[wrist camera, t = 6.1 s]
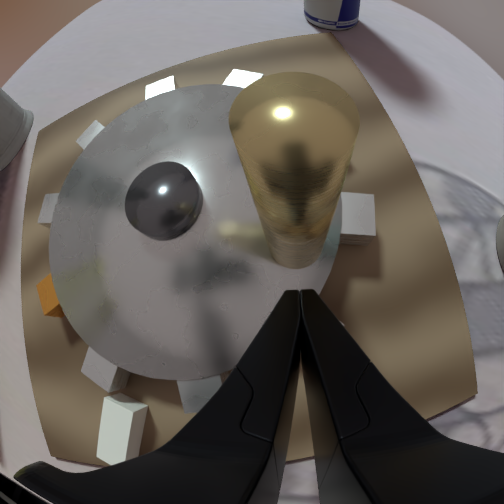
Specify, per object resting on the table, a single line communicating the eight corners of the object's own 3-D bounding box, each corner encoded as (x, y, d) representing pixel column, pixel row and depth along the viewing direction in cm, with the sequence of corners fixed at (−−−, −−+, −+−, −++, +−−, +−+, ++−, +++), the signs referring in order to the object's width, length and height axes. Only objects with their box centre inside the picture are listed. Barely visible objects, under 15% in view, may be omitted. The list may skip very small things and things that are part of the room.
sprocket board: (474, 392, 13) (477, 393, 12) (54, 454, 15) (51, 456, 15) (331, 35, 21) (331, 32, 21) (40, 133, 23) (38, 131, 23)
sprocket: (407, 355, 14) (560, 377, 3) (72, 409, 15) (-61, 432, 5) (299, 63, 20) (290, -61, 9) (62, 144, 21) (-15, 72, 11)
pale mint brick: (137, 462, 14) (123, 472, 12) (111, 448, 14) (96, 456, 13) (148, 405, 15) (133, 412, 13) (120, 392, 15) (104, 397, 14)
